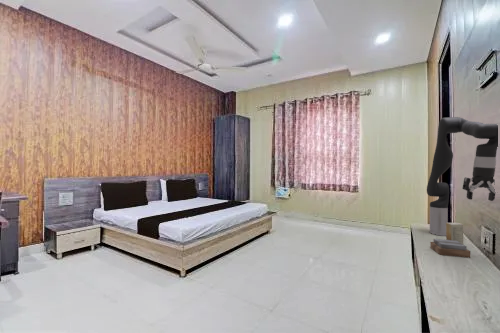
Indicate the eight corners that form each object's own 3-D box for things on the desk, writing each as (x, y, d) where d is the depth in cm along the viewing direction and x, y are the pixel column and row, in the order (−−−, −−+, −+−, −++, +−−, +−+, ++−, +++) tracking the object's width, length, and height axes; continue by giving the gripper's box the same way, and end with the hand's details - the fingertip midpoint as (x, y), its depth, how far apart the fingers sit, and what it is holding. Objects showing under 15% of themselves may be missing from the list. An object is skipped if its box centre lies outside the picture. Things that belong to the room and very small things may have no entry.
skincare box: (457, 244, 137) (458, 222, 137) (463, 247, 132) (464, 224, 132) (445, 244, 137) (445, 222, 137) (451, 246, 133) (451, 224, 133)
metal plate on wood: (430, 247, 131) (430, 238, 131) (457, 249, 128) (457, 240, 128) (440, 254, 120) (440, 244, 120) (470, 257, 116) (470, 247, 116)
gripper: (496, 166, 118) (491, 199, 120) (461, 164, 122) (458, 197, 123) (508, 167, 111) (503, 203, 113) (471, 166, 114) (467, 200, 116)
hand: (480, 199), depth 118 cm, fingers open, 8 cm apart
